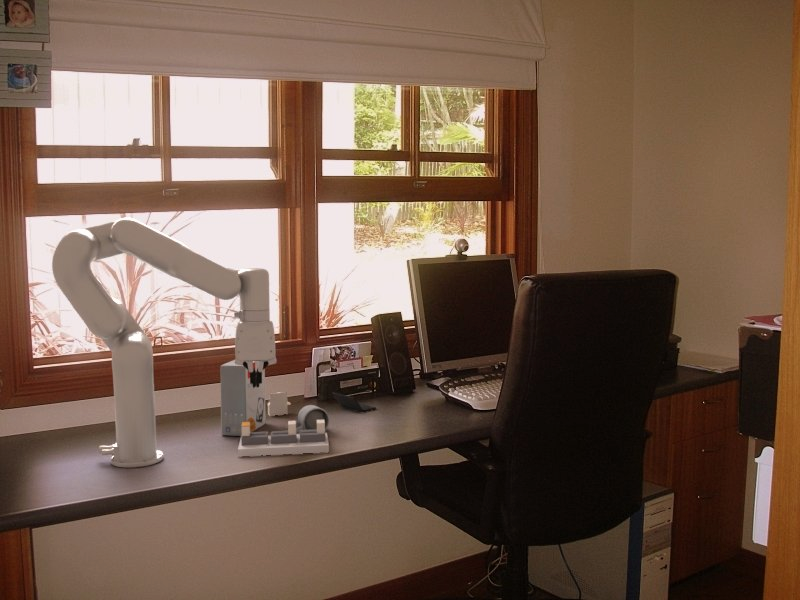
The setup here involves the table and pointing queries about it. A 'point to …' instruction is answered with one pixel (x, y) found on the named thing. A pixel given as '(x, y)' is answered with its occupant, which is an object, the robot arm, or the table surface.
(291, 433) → the white slotted rack
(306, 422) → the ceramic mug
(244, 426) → the breaker handle
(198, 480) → the table surface
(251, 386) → the hard drive box
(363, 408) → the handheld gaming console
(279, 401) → the architectural model
